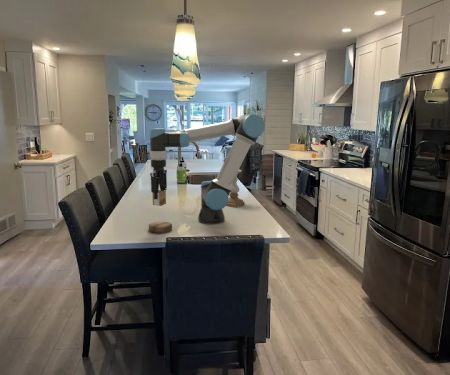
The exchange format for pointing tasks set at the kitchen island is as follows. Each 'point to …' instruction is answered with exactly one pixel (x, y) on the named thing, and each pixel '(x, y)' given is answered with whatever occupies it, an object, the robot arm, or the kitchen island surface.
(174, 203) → the kitchen island surface
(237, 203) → the candle holder
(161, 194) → the walnut block
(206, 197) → the robot arm
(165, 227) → the plinth
